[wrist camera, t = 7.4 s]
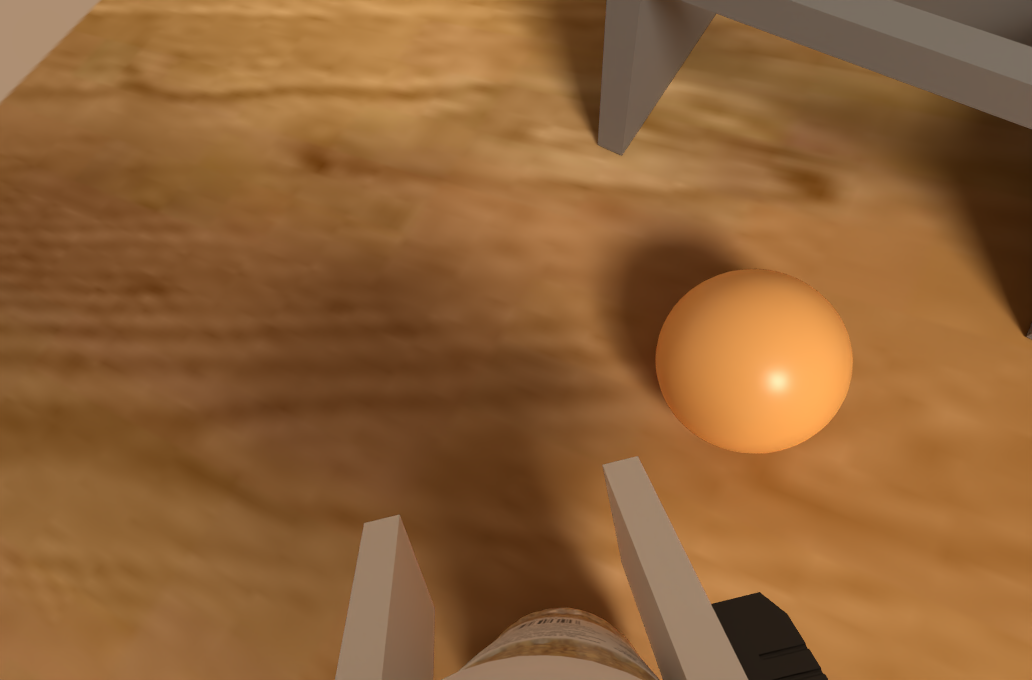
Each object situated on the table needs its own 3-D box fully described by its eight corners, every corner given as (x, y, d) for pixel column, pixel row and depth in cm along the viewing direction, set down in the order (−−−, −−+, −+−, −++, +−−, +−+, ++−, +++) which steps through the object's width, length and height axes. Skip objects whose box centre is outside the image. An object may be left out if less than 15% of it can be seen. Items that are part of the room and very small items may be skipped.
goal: (597, 145, 23) (610, -63, 15) (729, -49, 26) (794, -303, 18) (1060, 352, 19) (1380, 207, 11) (1156, 95, 22) (1463, -155, 14)
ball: (617, 413, 19) (631, 362, 15) (690, 286, 21) (725, 203, 16) (769, 500, 18) (838, 474, 13) (838, 359, 19) (922, 291, 15)
